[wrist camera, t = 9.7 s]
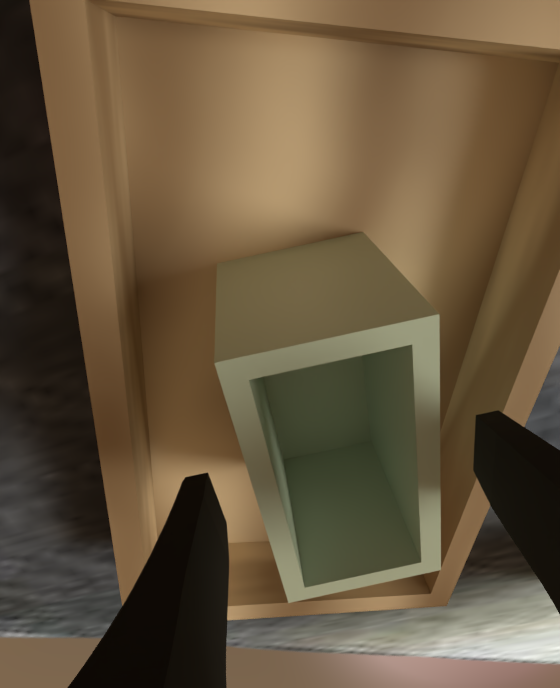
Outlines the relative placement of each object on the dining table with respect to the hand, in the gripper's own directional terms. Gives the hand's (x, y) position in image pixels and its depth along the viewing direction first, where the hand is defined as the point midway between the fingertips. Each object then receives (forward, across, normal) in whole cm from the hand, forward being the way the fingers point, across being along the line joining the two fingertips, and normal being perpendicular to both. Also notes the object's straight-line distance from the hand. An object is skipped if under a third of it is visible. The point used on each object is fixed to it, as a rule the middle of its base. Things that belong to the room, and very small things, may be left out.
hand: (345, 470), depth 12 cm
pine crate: (+6, 0, 0) cm, 7 cm away
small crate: (+6, 0, 0) cm, 6 cm away
